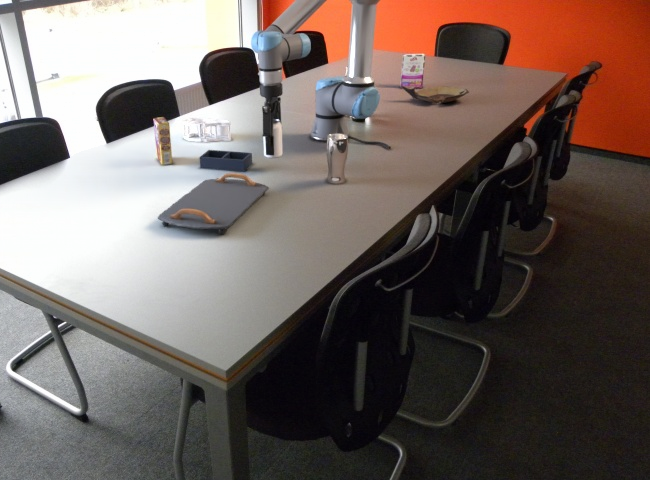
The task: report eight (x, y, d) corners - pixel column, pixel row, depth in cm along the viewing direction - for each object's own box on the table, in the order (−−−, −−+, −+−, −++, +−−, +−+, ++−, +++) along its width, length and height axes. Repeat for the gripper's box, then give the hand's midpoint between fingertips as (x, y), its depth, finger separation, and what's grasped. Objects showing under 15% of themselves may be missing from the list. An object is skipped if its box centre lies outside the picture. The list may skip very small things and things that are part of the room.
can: (280, 158, 210) (280, 124, 204) (262, 158, 211) (261, 123, 205) (283, 152, 216) (283, 118, 209) (265, 152, 217) (264, 118, 211)
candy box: (173, 163, 225) (169, 122, 217) (162, 165, 224) (157, 123, 216) (168, 157, 232) (163, 116, 224) (157, 158, 231) (152, 118, 223)
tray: (252, 163, 222) (251, 152, 220) (244, 171, 215) (243, 160, 213) (209, 160, 227) (208, 149, 225) (200, 168, 220) (199, 157, 218)
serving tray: (224, 240, 167) (223, 219, 164) (151, 230, 175) (148, 209, 171) (273, 191, 197) (273, 173, 194) (209, 184, 205) (208, 166, 202)
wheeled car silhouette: (236, 136, 252) (235, 119, 248) (224, 144, 244) (223, 126, 240) (194, 132, 260) (192, 115, 256) (181, 140, 251) (179, 122, 247)
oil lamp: (461, 109, 278) (463, 91, 274) (396, 103, 291) (398, 87, 287) (471, 98, 295) (473, 81, 291) (410, 93, 307) (411, 77, 303)
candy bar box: (421, 86, 321) (425, 53, 312) (422, 88, 316) (425, 54, 308) (399, 86, 322) (402, 53, 314) (400, 88, 318) (403, 55, 310)
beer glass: (348, 178, 206) (350, 133, 198) (344, 185, 200) (346, 140, 192) (328, 176, 208) (329, 132, 200) (323, 183, 202) (324, 138, 195)
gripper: (268, 76, 210) (271, 142, 222) (250, 89, 194) (254, 159, 206) (289, 76, 207) (290, 143, 219) (273, 90, 192) (275, 161, 204)
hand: (273, 151), depth 213 cm, fingers closed on can, 6 cm apart
